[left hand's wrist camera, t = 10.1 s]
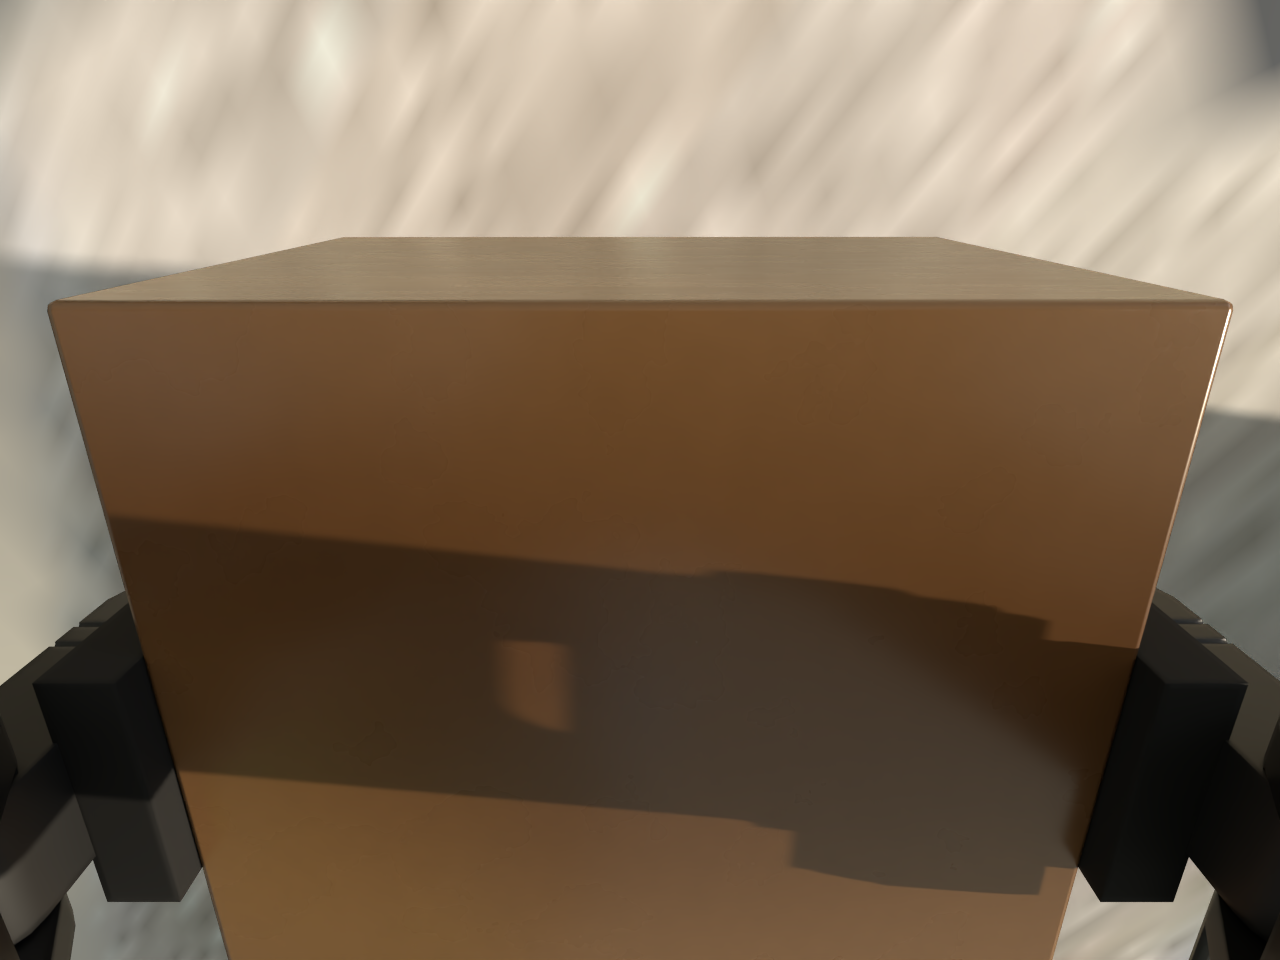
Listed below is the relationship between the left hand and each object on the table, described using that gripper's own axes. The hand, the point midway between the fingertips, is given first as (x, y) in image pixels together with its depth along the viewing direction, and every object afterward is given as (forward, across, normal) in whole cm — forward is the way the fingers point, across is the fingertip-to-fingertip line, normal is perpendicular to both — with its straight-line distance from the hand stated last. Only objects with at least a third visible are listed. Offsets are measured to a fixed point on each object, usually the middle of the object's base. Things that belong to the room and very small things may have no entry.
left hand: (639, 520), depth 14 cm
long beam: (0, 0, -32) cm, 32 cm away
